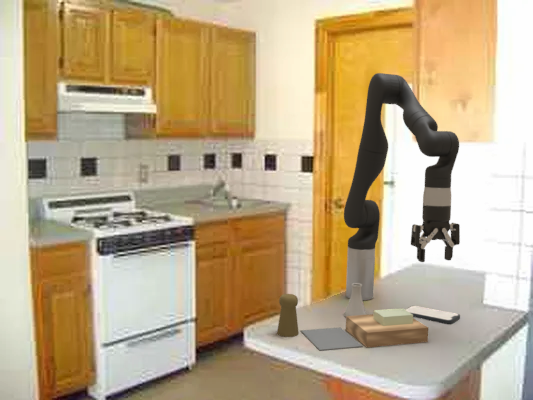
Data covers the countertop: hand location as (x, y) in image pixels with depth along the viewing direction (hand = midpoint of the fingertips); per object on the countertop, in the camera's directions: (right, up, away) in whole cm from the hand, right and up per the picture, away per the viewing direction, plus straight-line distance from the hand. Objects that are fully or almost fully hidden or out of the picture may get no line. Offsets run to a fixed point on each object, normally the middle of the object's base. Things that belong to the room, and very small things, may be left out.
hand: (434, 260), depth 166 cm
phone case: (+4, -19, +17) cm, 26 cm away
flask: (-20, -19, +16) cm, 31 cm away
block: (-12, -15, -1) cm, 20 cm away
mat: (-30, -21, -5) cm, 37 cm away
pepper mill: (-41, -20, -1) cm, 46 cm away
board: (-14, -21, -1) cm, 25 cm away
